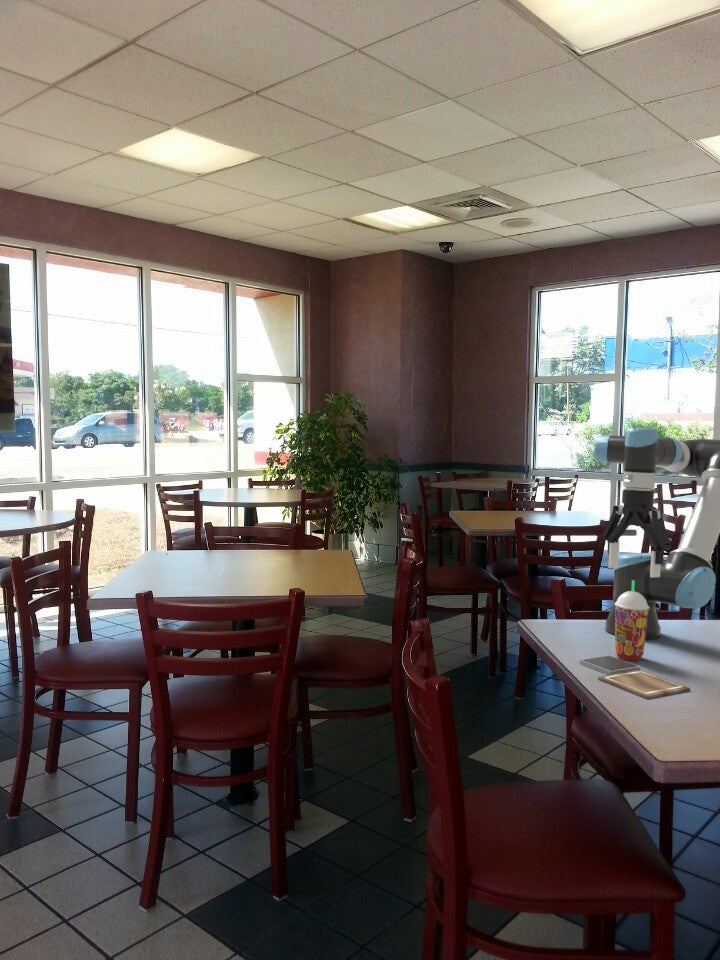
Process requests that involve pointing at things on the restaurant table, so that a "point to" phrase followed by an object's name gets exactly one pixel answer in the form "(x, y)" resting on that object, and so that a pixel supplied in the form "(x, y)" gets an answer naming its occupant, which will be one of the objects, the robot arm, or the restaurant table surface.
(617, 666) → the ink pad
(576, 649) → the restaurant table surface
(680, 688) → the board
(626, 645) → the smoothie
